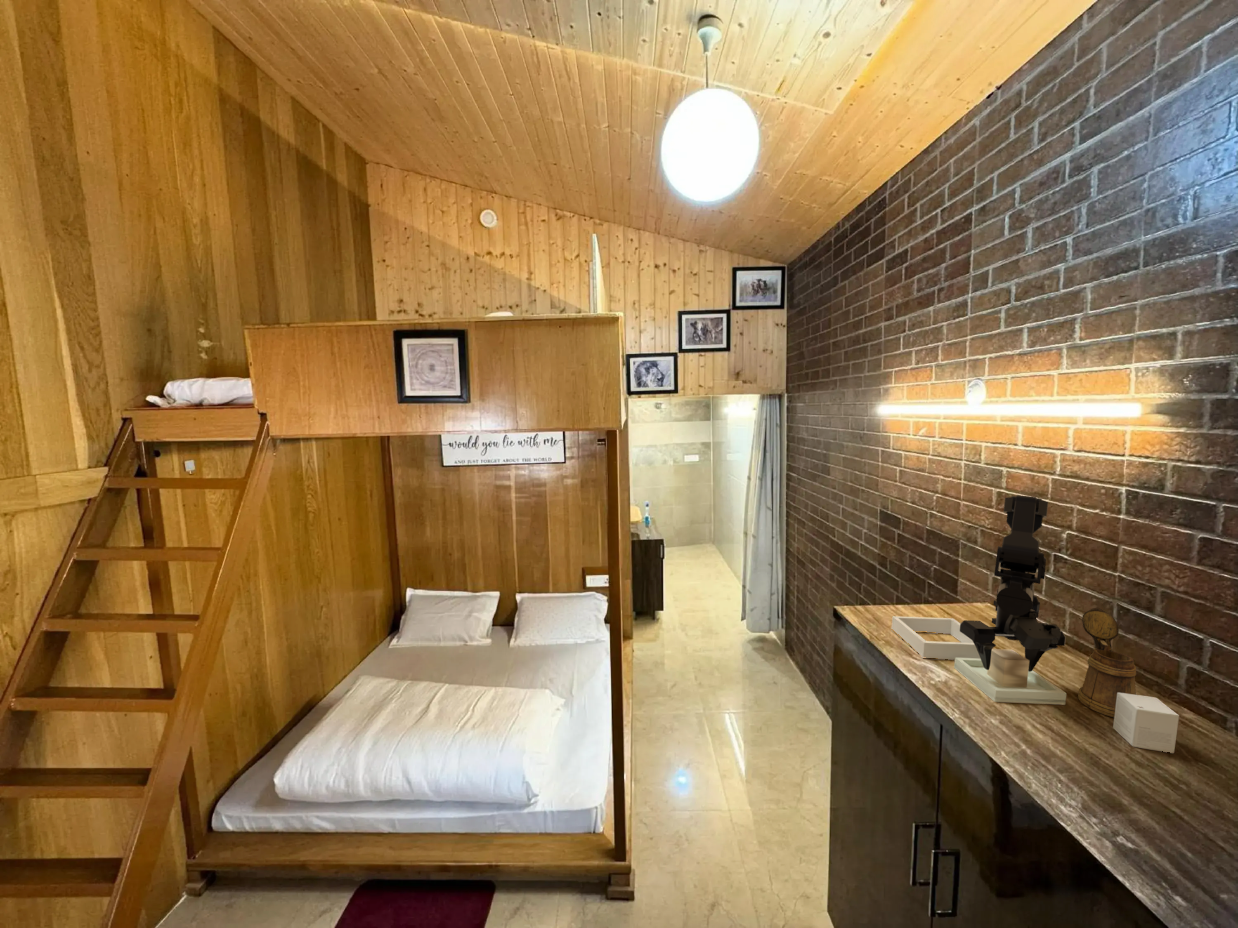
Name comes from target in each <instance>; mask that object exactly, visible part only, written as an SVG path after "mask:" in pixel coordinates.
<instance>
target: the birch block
mask: <svg viewBox="0 0 1238 928" xmlns="http://www.w3.org/2000/svg"><path fill="white" fill-rule="evenodd" d="M1028 669H1029V660H1028V659H1026V658H1025V656H1023V655H1022V654H1020V653H1018V652H1017V651H1016V650H1014V649H1005V648H1003V649H1001V648H993V649H992V651H991V663H990V668H989V670H987V675H989V676H990V677H991V678H992V679H994V680H995V681H996V682H998V683H999V684H1000V685H1001V686H1008V687H1027V679H1028Z"/></svg>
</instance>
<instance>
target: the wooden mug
mask: <svg viewBox="0 0 1238 928" xmlns="http://www.w3.org/2000/svg"><path fill="white" fill-rule="evenodd" d="M1081 621H1082V627H1083V630H1084V631H1085V632H1086V633H1087V634H1088V636H1090V637H1092V639H1093V644H1094V645H1093V650H1092V654H1090V655H1089V657H1088V658H1087V661H1086V663H1087V664H1088V667H1087V671H1086V673H1085V677H1084V681H1083V683H1082V686H1081V687H1080V688H1079V690H1078V696H1077V699H1078V700H1079V701H1080V702H1081V704H1082V705H1084V706H1085V707H1087V708H1089V709H1091V710H1092V711H1095V712H1097V713H1099V714H1101V715H1105V716H1107V717H1110V718H1114V717H1115V708H1116V699H1117V693H1126V694H1133V695H1137V689H1136V688H1137V687H1136V677H1135V676H1136V675H1137V666H1136V664H1135V661H1134V658H1133V657H1132V656H1130V655H1127V654H1124V653H1121V652H1117V651H1114V650H1113V647H1112V643H1111V641H1112V640H1114V639H1116V637H1118V636H1119V624H1118V622H1117V620H1116V619H1115V617H1113V616H1112V615H1111V614H1110V613H1108V612H1107V611H1106V610H1105V609H1102V608H1100V607H1097V606H1096V607H1094V608H1091V609H1089V610H1087V611H1086V612H1084V613H1083V614H1082V619H1081Z"/></svg>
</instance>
